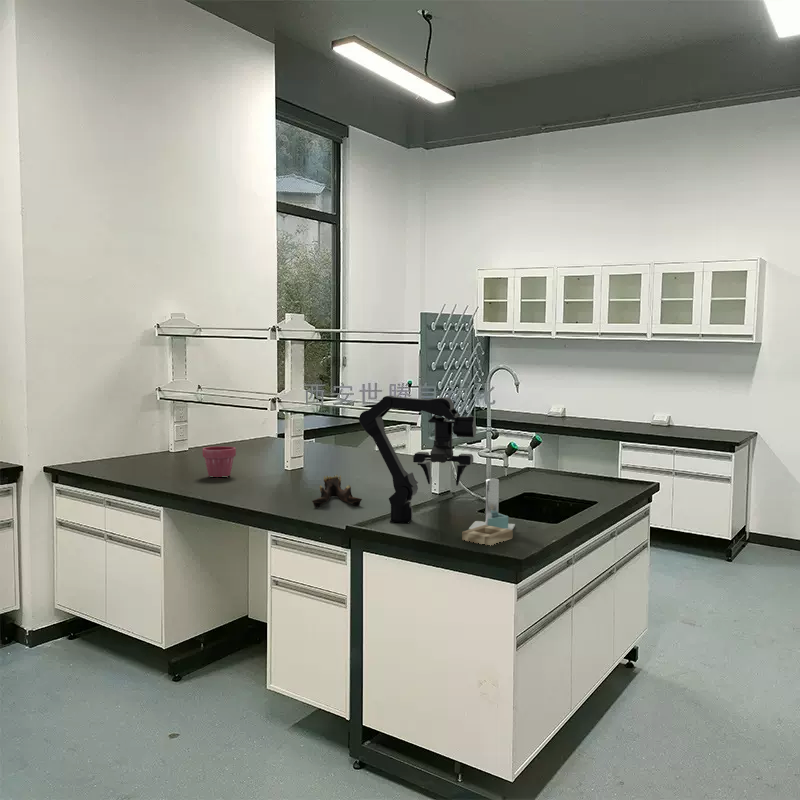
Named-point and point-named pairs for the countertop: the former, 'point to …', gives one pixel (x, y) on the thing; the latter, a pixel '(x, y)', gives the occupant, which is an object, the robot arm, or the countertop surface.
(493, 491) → the silver metal cylinder
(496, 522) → the plate with teal chevron
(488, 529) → the wooden frame
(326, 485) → the dark brown branching piece
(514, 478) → the countertop surface
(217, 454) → the plant pot
